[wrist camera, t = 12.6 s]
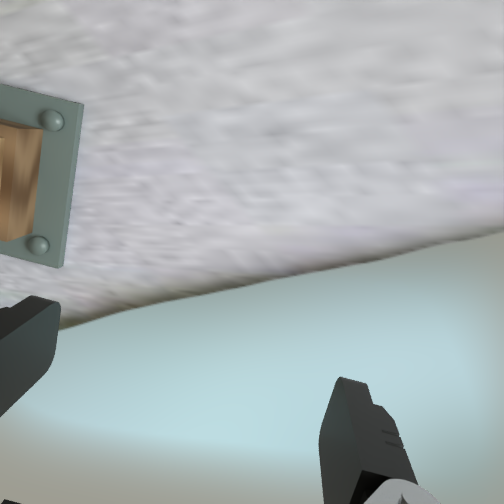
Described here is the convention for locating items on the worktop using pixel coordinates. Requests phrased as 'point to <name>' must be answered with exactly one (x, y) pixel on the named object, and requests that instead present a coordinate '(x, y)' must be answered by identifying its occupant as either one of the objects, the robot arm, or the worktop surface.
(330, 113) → the worktop surface
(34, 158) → the stepped wooden plinth
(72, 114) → the baseplate
